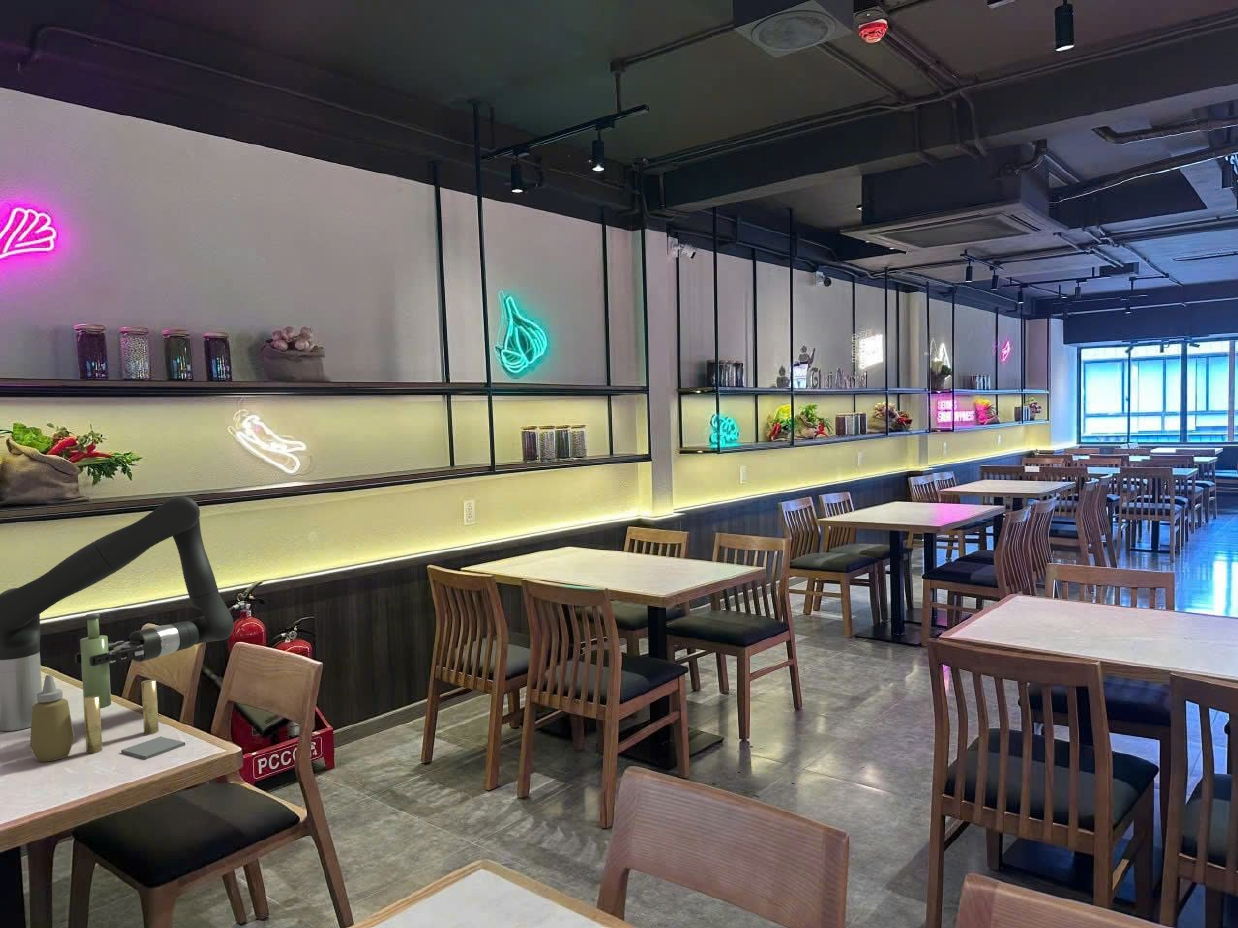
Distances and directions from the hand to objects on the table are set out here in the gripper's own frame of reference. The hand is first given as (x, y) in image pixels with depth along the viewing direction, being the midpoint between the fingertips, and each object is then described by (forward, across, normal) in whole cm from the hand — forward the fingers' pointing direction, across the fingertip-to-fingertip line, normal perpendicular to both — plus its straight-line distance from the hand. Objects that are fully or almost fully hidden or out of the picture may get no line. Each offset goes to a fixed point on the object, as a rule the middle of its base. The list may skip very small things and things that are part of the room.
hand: (83, 660), depth 193 cm
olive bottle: (-3, 0, +12) cm, 12 cm away
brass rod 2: (-9, +10, +18) cm, 23 cm away
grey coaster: (-2, +21, +18) cm, 28 cm away
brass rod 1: (+4, +10, +18) cm, 21 cm away
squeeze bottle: (+10, +5, +18) cm, 22 cm away
